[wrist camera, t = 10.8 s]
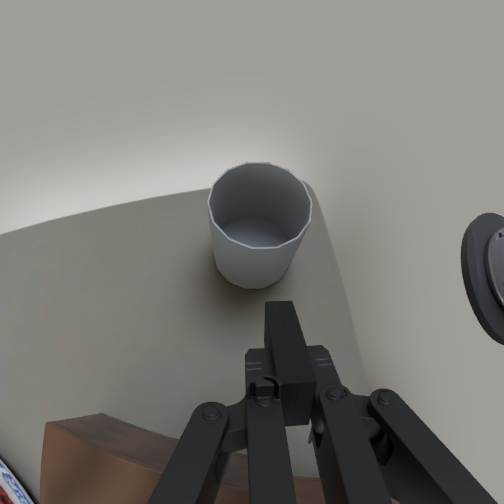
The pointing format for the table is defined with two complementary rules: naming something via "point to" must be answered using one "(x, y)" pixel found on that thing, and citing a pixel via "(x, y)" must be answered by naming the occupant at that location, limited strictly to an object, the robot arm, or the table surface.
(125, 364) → the table surface
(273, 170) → the cup
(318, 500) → the drawer
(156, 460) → the cabinet
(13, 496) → the ceramic plate
